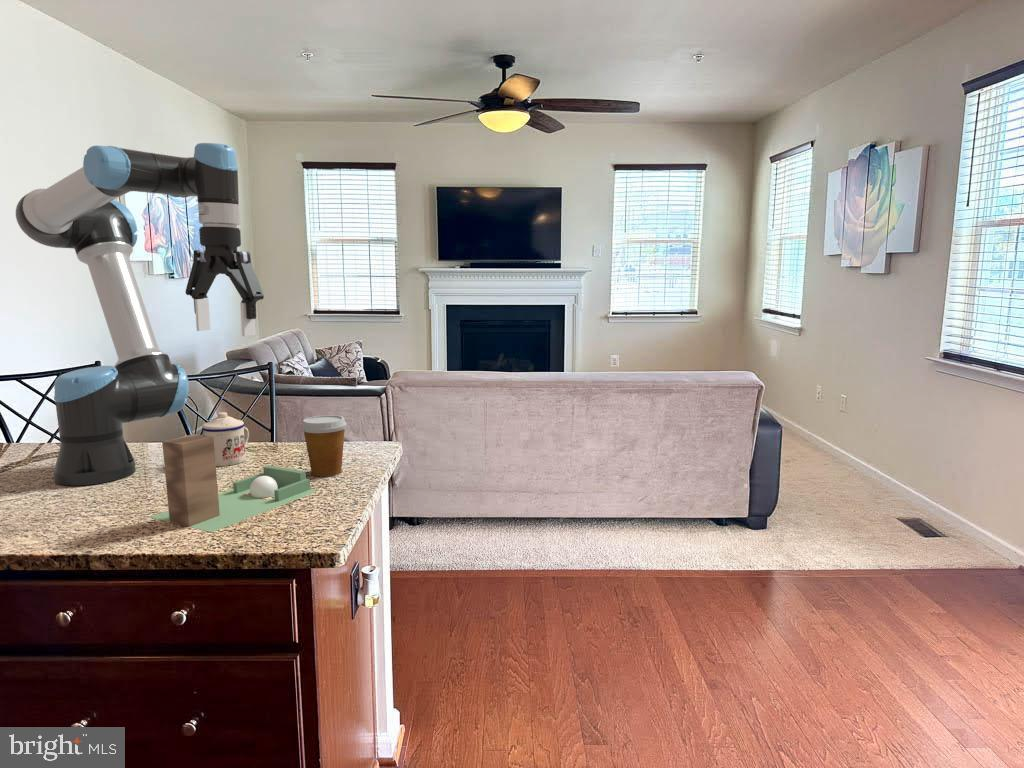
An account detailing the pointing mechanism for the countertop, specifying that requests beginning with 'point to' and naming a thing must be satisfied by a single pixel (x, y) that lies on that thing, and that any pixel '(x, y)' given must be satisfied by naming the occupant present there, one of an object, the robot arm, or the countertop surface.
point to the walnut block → (191, 479)
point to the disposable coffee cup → (324, 443)
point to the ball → (263, 487)
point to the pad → (244, 507)
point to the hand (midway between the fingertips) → (225, 333)
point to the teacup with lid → (227, 439)
